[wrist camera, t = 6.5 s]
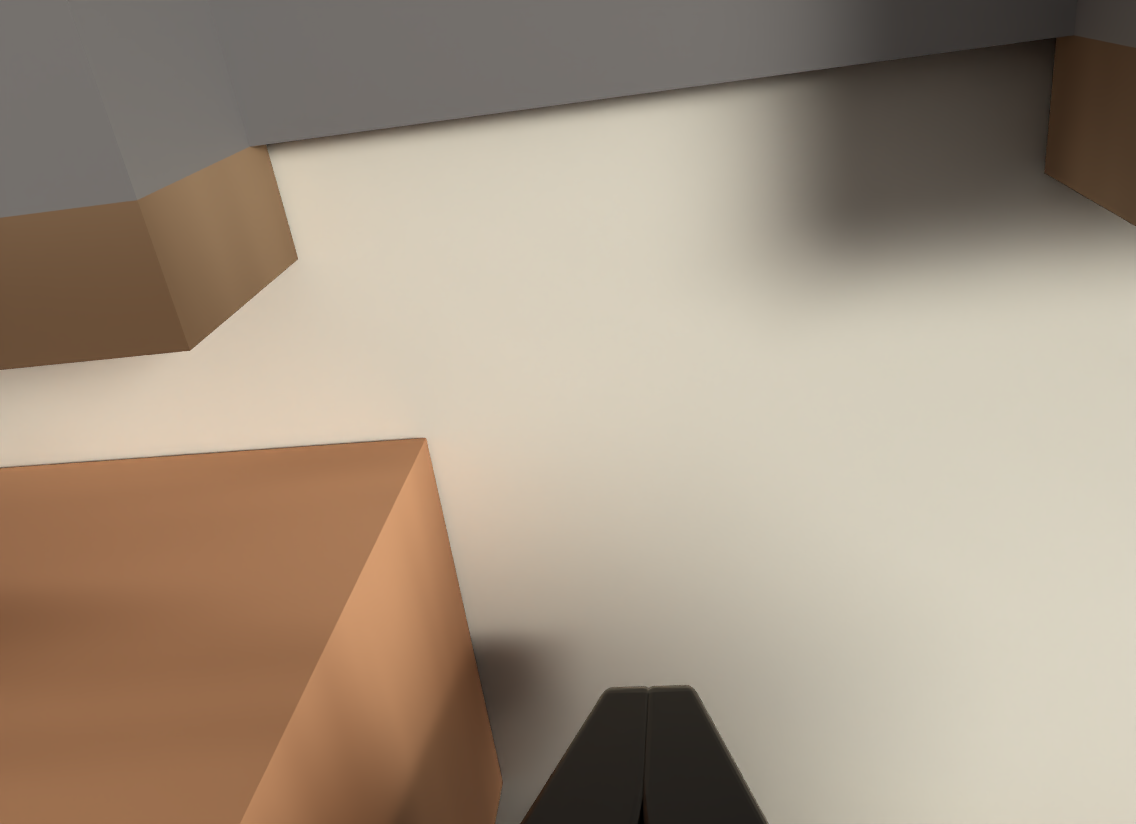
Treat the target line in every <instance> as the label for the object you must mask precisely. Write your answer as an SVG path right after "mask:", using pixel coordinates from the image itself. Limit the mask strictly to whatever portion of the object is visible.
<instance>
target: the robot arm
mask: <svg viewBox="0 0 1136 824" xmlns="http://www.w3.org/2000/svg"><path fill="white" fill-rule="evenodd" d="M521 824H768V822H767V820H766V818H765V816H764V814H763V813H762V811H761V809H760V807H759V805H758V803H757V802H756V800H755V798H754V796H753V794H752V792H751V791H750V789H749V787H748V785H747V783H746V782H745V780H744V778H743V776H742V774H741V772H740V771H739V769H738V767H737V765H736V763H735V761H734V760H733V758H732V756H731V754H730V752H729V750H728V749H727V747H726V745H725V743H724V741H723V739H722V738H721V736H720V734H719V732H718V730H717V728H716V727H715V725H714V723H713V721H712V719H711V717H710V716H709V714H708V712H707V710H706V708H705V706H704V705H703V703H702V701H701V699H700V697H699V696H698V694H697V692H696V691H695V690H694V689H693V688H692V687H691V686H689V685H672V686H652V687H650V688H648V687H645V686H638V687H612V688H609V689H607V690H605V691H604V692H603V694H602V695H601V697H600V698H599V700H598V701H597V703H596V705H595V706H594V708H593V709H592V711H591V712H590V714H589V716H588V717H587V719H586V720H585V722H584V724H583V725H582V727H581V728H580V730H579V732H578V733H577V735H576V736H575V738H574V739H573V741H572V743H571V744H570V746H569V747H568V749H567V751H566V752H565V754H564V755H563V757H562V758H561V760H560V762H559V763H558V765H557V766H556V768H555V770H554V771H553V773H552V774H551V776H550V778H549V779H548V781H547V782H546V784H545V785H544V787H543V789H542V790H541V792H540V793H539V795H538V797H537V798H536V800H535V801H534V803H533V805H532V806H531V808H530V809H529V811H528V812H527V814H526V816H525V817H524V819H523V820H522V822H521Z"/></svg>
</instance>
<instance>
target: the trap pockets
mask: <svg viewBox="0 0 1136 824" xmlns="http://www.w3.org/2000/svg"><path fill="white" fill-rule="evenodd" d="M1072 35H1075V36H1080V37H1085V38H1090V39H1095V40H1100V41H1105V42H1110V43H1114V44H1119V45H1124V46H1129V47H1134V48H1136V0H0V218H2V217H10V216H18V215H25V214H33V213H41V212H49V211H56V210H64V209H72V208H80V207H88V206H95V205H103V204H111V203H119V202H126V201H134V200H139V199H141V198H143V197H145V196H147V195H149V194H151V193H153V192H155V191H157V190H160V189H162V188H164V187H166V186H168V185H170V184H172V183H174V182H176V181H179V180H181V179H183V178H185V177H187V176H189V175H191V174H193V173H195V172H197V171H200V170H202V169H204V168H206V167H208V166H210V165H212V164H214V163H216V162H218V161H221V160H223V159H225V158H227V157H229V156H231V155H233V154H235V153H237V152H240V151H242V150H244V149H246V148H248V147H251V146H259V145H266V144H273V143H281V142H288V141H296V140H303V139H310V138H318V137H325V136H333V135H340V134H347V133H355V132H362V131H370V130H377V129H384V128H392V127H399V126H406V125H414V124H421V123H429V122H436V121H443V120H451V119H458V118H466V117H473V116H480V115H488V114H495V113H503V112H510V111H517V110H525V109H532V108H540V107H547V106H554V105H562V104H569V103H576V102H584V101H591V100H599V99H606V98H613V97H621V96H628V95H636V94H643V93H650V92H658V91H665V90H673V89H680V88H687V87H695V86H702V85H710V84H717V83H724V82H732V81H739V80H747V79H754V78H761V77H769V76H776V75H783V74H791V73H798V72H806V71H813V70H820V69H828V68H835V67H843V66H850V65H857V64H865V63H872V62H880V61H887V60H894V59H902V58H909V57H917V56H924V55H931V54H939V53H946V52H953V51H961V50H968V49H976V48H983V47H990V46H998V45H1005V44H1013V43H1020V42H1027V41H1035V40H1042V39H1050V38H1057V37H1064V36H1072Z"/></svg>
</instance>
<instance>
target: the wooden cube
mask: <svg viewBox="0 0 1136 824" xmlns="http://www.w3.org/2000/svg"><path fill="white" fill-rule="evenodd" d="M502 784H503V781H502V776H501V772H500V767H499V763H498V758H497V754H496V749H495V745H494V740H493V736H492V732H491V727H490V723H489V718H488V714H487V709H486V705H485V700H484V696H483V691H482V687H481V682H480V678H479V673H478V669H477V664H476V660H475V655H474V651H473V646H472V642H471V637H470V633H469V628H468V624H467V619H466V615H465V611H464V606H463V602H462V597H461V593H460V588H459V584H458V579H457V575H456V570H455V566H454V561H453V557H452V552H451V548H450V543H449V539H448V534H447V530H446V525H445V521H444V516H443V512H442V507H441V503H440V498H439V494H438V490H437V485H436V481H435V476H434V472H433V467H432V463H431V458H430V454H429V449H428V445H427V440H426V438H420V439H406V440H392V441H377V442H363V443H349V444H335V445H321V446H307V447H293V448H279V449H265V450H251V451H237V452H223V453H208V454H194V455H180V456H166V457H152V458H138V459H124V460H110V461H96V462H82V463H68V464H54V465H39V466H25V467H11V468H0V824H495V821H496V815H497V810H498V805H499V800H500V794H501V789H502Z"/></svg>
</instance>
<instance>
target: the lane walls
mask: <svg viewBox="0 0 1136 824" xmlns="http://www.w3.org/2000/svg"><path fill="white" fill-rule="evenodd" d="M1044 173H1045V174H1047V175H1049V176H1050V177H1052V178H1054V179H1055V180H1057V181H1059V182H1061V183H1062V184H1064V185H1066V186H1068V187H1069V188H1071V189H1073V190H1074V191H1076V192H1078V193H1080V194H1081V195H1083V196H1085V197H1086V198H1088V199H1090V200H1092V201H1093V202H1095V203H1097V204H1098V205H1100V206H1102V207H1104V208H1105V209H1107V210H1109V211H1111V212H1112V213H1114V214H1116V215H1117V216H1119V217H1121V218H1123V219H1124V220H1126V221H1128V222H1129V223H1131V224H1133V225H1135V226H1136V48H1134V47H1129V46H1124V45H1119V44H1114V43H1110V42H1105V41H1100V40H1095V39H1090V38H1085V37H1080V36H1075V35H1072V36H1064V37H1057V38H1056V48H1055V59H1054V70H1053V82H1052V93H1051V104H1050V116H1049V127H1048V138H1047V149H1046V161H1045V172H1044ZM296 260H298V257H297V253H296V250H295V246H294V243H293V239H292V236H291V232H290V228H289V225H288V221H287V218H286V214H285V211H284V207H283V203H282V200H281V196H280V193H279V189H278V186H277V182H276V178H275V175H274V171H273V168H272V164H271V161H270V157H269V154H268V150H267V146H266V145H259V146H251V147H248V148H246V149H244V150H242V151H240V152H237V153H235V154H233V155H231V156H229V157H227V158H225V159H223V160H221V161H218V162H216V163H214V164H212V165H210V166H208V167H206V168H204V169H202V170H200V171H197V172H195V173H193V174H191V175H189V176H187V177H185V178H183V179H181V180H179V181H176V182H174V183H172V184H170V185H168V186H166V187H164V188H162V189H160V190H157V191H155V192H153V193H151V194H149V195H147V196H145V197H143V198H141V199H139V200H134V201H126V202H119V203H111V204H103V205H95V206H88V207H80V208H72V209H64V210H56V211H49V212H41V213H33V214H25V215H18V216H10V217H2V218H0V370H4V369H14V368H24V367H33V366H43V365H53V364H63V363H73V362H83V361H93V360H102V359H112V358H122V357H132V356H142V355H152V354H161V353H171V352H181V351H190V350H191V349H193V348H194V347H195V346H196V345H197V344H198V343H200V342H201V341H202V340H203V339H204V338H205V337H207V336H208V335H209V334H210V333H211V332H213V331H214V330H215V329H216V328H217V327H218V326H220V325H221V324H222V323H223V322H224V321H226V320H227V319H228V318H229V317H230V316H231V315H233V314H234V313H235V312H236V311H237V310H239V309H240V308H241V307H242V306H243V305H244V304H246V303H247V302H248V301H249V300H250V299H252V298H253V297H254V296H255V295H256V294H257V293H259V292H260V291H261V290H262V289H263V288H264V287H266V286H267V285H268V284H269V283H270V282H272V281H273V280H274V279H275V278H276V277H277V276H279V275H280V274H281V273H282V272H283V271H285V270H286V269H287V268H288V267H289V266H290V265H292V264H293V263H294V262H295V261H296Z"/></svg>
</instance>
